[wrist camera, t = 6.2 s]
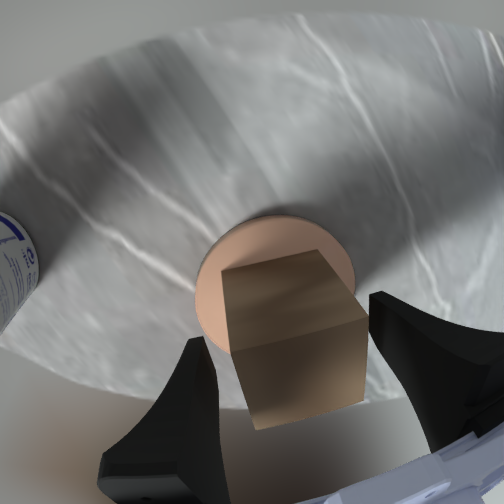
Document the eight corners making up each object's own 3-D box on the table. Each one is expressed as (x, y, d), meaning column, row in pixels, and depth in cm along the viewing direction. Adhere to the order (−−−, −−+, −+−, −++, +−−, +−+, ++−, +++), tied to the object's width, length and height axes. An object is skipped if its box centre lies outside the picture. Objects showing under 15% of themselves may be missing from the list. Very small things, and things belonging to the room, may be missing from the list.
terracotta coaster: (342, 199, 15) (350, 205, 14) (349, 329, 18) (355, 339, 17) (176, 236, 15) (174, 245, 14) (217, 362, 18) (218, 374, 17)
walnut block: (317, 248, 15) (369, 316, 10) (324, 325, 17) (363, 400, 12) (220, 271, 14) (230, 352, 10) (241, 345, 16) (255, 430, 11)
